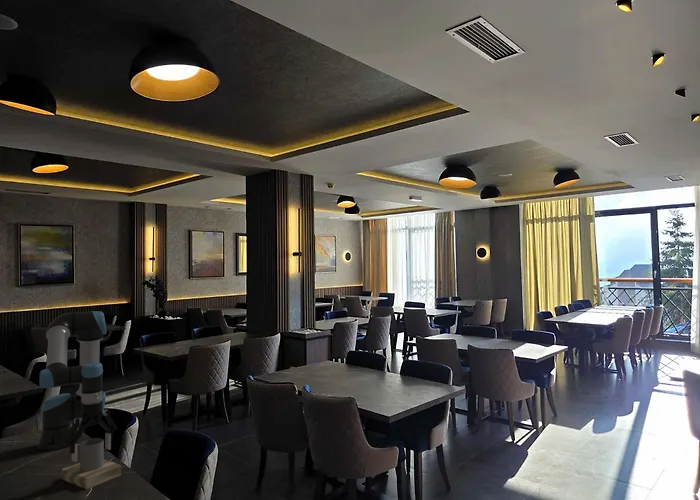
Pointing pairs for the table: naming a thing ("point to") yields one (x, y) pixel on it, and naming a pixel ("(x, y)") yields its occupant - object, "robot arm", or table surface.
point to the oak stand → (91, 474)
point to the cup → (91, 454)
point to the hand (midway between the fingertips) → (91, 454)
